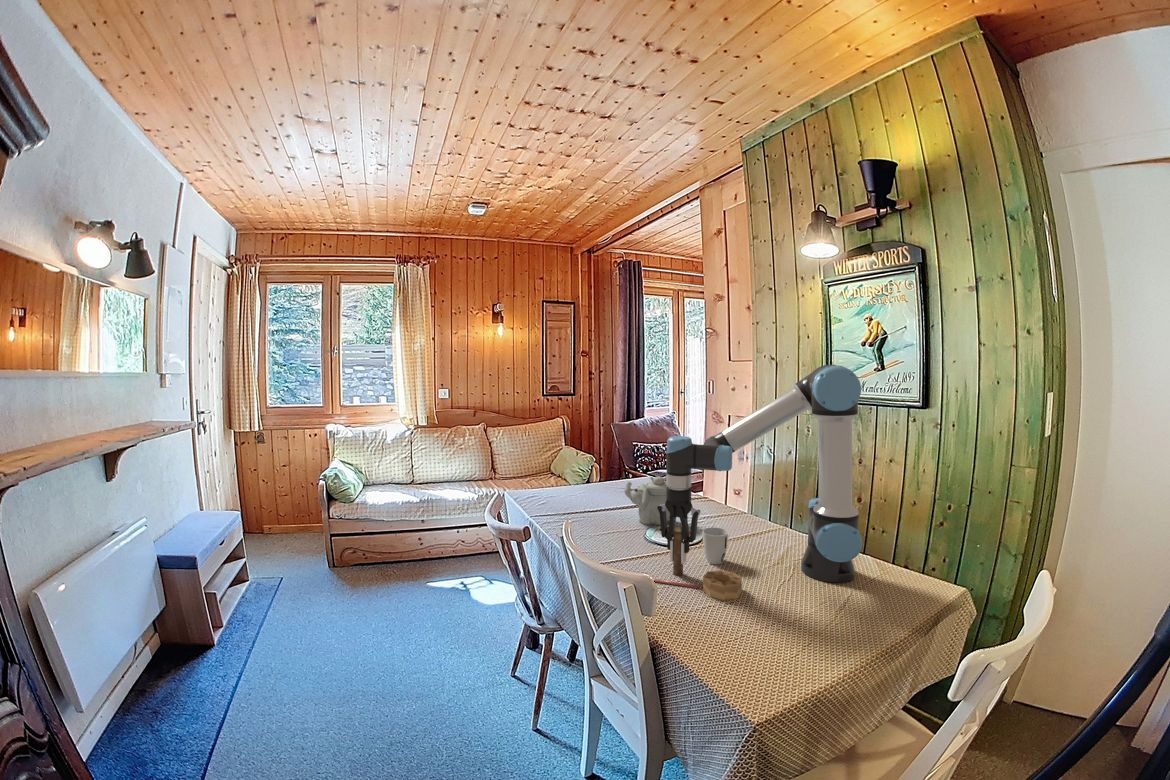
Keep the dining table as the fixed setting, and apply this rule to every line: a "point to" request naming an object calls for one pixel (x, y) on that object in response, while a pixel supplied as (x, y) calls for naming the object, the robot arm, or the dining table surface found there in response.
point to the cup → (715, 544)
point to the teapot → (649, 499)
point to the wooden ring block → (722, 585)
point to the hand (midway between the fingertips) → (678, 561)
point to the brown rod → (677, 551)
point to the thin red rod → (677, 583)
